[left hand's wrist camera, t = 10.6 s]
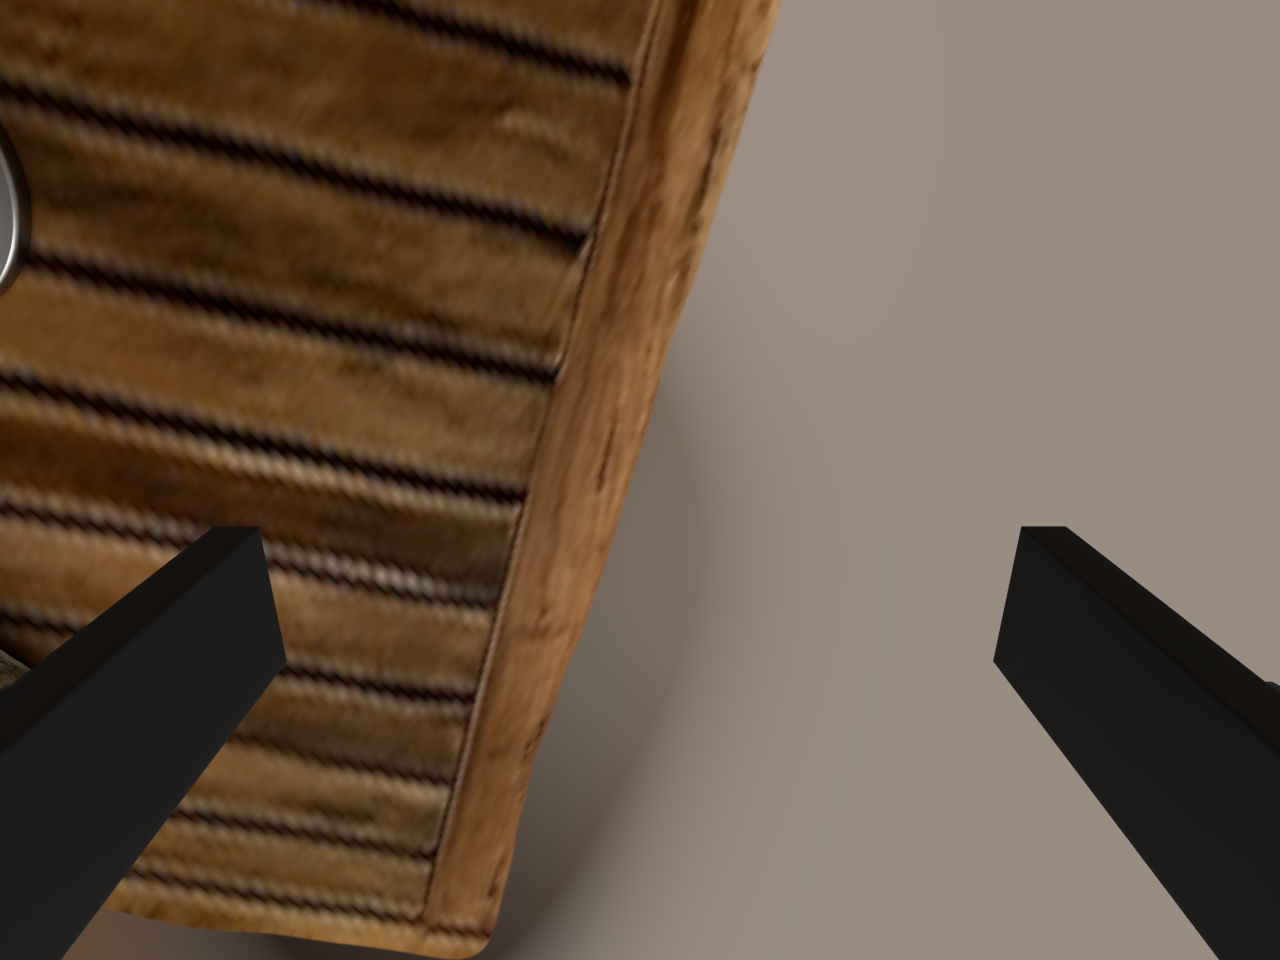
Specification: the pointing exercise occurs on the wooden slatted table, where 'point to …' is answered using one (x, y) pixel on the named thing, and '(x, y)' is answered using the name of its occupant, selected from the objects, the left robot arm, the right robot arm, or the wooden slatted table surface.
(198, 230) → the wooden slatted table surface
